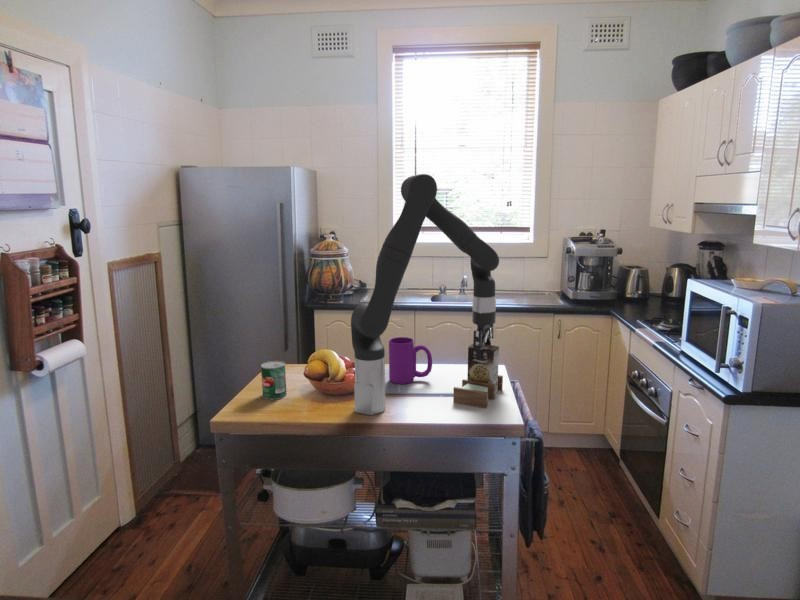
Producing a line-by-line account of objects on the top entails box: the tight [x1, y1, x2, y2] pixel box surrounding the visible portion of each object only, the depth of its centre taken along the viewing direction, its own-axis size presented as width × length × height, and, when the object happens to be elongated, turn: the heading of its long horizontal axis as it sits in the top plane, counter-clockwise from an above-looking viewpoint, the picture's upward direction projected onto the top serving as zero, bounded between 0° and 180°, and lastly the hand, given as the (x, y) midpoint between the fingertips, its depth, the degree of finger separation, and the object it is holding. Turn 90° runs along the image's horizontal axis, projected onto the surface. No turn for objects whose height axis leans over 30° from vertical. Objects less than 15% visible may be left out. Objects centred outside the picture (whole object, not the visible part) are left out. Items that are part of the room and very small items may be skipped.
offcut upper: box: [461, 384, 488, 392], centre depth 170 cm, size 5×7×2 cm, turn 57°
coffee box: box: [466, 343, 500, 394], centre depth 177 cm, size 9×6×16 cm
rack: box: [452, 374, 504, 409], centre depth 174 cm, size 18×11×5 cm, turn 153°
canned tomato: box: [260, 360, 287, 401], centre depth 176 cm, size 8×8×11 cm
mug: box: [388, 336, 433, 385], centre depth 189 cm, size 9×16×15 cm, turn 90°
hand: (483, 356), depth 176 cm, fingers open, 8 cm apart
